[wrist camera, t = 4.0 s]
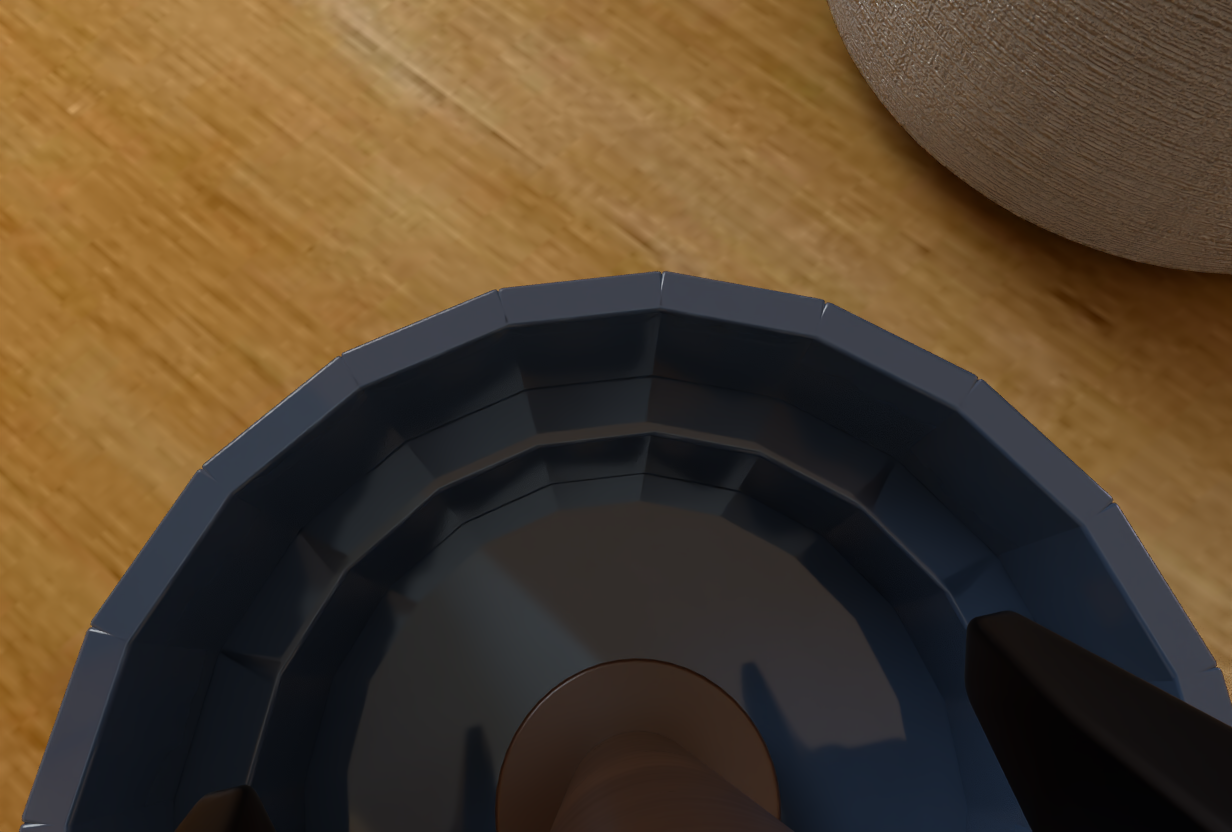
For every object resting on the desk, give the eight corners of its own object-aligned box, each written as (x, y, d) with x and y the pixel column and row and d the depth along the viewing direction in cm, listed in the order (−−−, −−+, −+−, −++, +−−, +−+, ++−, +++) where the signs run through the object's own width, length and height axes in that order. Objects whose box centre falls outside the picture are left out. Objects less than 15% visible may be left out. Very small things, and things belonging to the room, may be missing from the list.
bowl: (1155, 630, 17) (1433, 600, 11) (827, 1501, 14) (989, 2101, 8) (496, 286, 19) (448, 110, 13) (54, 970, 15) (-275, 1137, 10)
